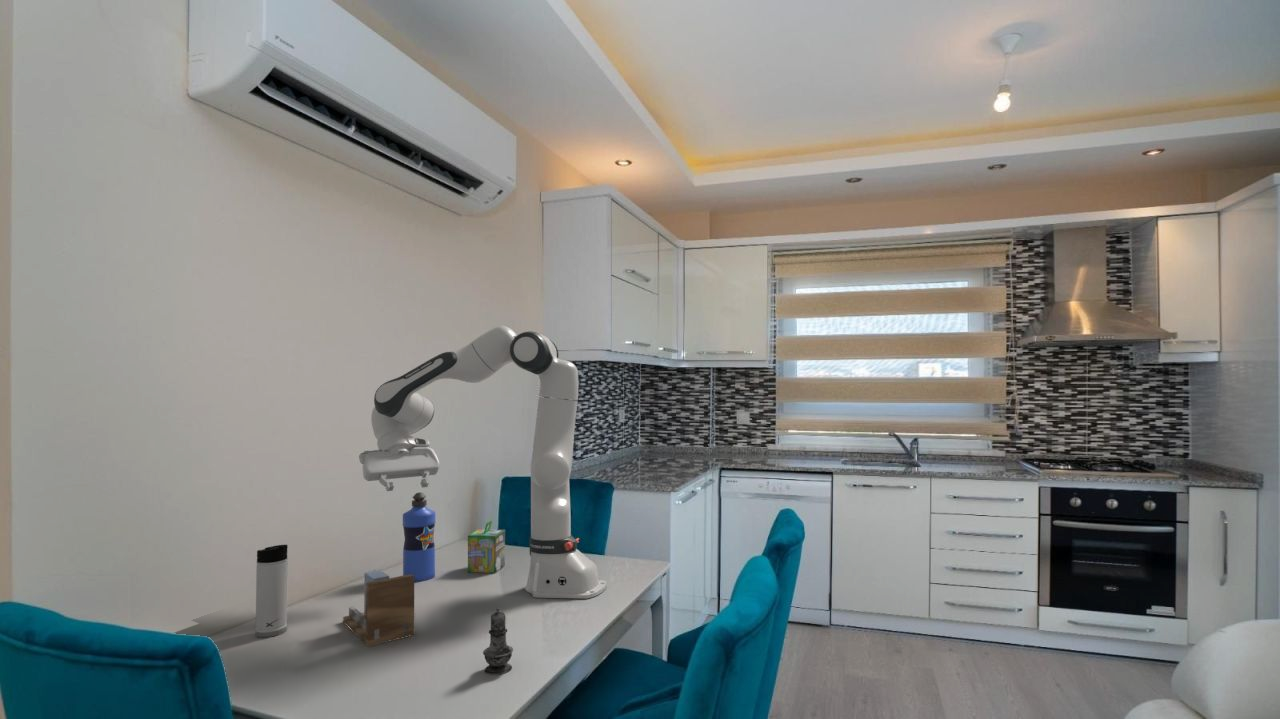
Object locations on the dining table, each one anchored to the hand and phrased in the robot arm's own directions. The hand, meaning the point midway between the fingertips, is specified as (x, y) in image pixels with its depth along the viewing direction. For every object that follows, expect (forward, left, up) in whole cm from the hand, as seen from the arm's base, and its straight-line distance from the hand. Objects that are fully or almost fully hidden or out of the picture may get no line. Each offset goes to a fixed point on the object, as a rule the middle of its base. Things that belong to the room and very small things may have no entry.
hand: (408, 487), depth 174 cm
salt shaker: (-46, +33, -30) cm, 64 cm away
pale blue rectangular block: (-7, +20, -28) cm, 35 cm away
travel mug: (+15, +30, -30) cm, 44 cm away
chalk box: (-5, -30, -30) cm, 43 cm away
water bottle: (+10, -17, -30) cm, 36 cm away
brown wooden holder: (-7, +21, -29) cm, 37 cm away
